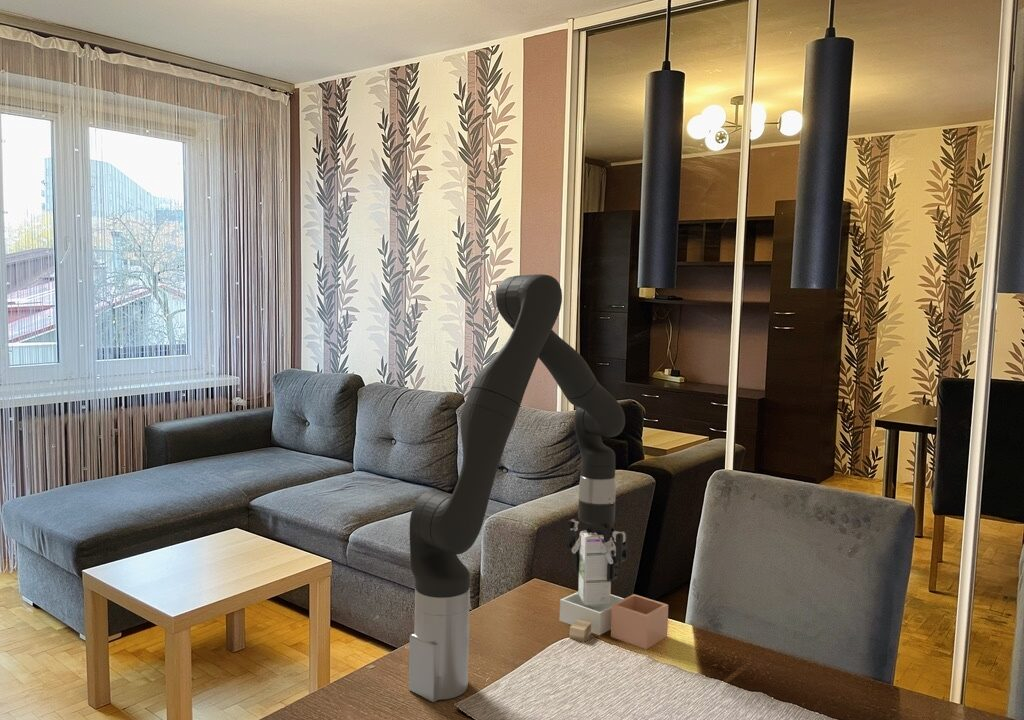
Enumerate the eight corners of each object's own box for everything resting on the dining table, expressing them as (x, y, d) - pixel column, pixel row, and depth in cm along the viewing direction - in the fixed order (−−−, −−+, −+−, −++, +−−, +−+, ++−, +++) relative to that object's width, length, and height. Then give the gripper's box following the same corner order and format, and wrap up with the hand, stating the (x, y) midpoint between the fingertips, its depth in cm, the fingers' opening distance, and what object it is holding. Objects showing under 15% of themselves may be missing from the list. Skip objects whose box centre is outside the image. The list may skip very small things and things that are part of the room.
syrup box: (611, 605, 151) (613, 535, 150) (582, 606, 150) (585, 535, 149) (603, 594, 157) (606, 527, 156) (576, 595, 156) (578, 527, 155)
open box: (645, 652, 141) (647, 616, 141) (610, 639, 146) (611, 604, 146) (667, 639, 147) (668, 604, 147) (632, 627, 152) (633, 594, 152)
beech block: (583, 645, 144) (584, 630, 144) (569, 642, 145) (569, 627, 145) (590, 637, 147) (591, 622, 147) (576, 634, 149) (577, 619, 148)
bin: (599, 638, 147) (600, 613, 146) (559, 623, 153) (560, 599, 153) (626, 623, 154) (627, 599, 154) (587, 609, 161) (588, 587, 161)
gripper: (558, 494, 154) (556, 571, 155) (616, 507, 145) (613, 589, 146) (579, 488, 160) (577, 563, 161) (636, 500, 150) (634, 579, 151)
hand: (594, 575), depth 153 cm, fingers closed on syrup box, 8 cm apart
